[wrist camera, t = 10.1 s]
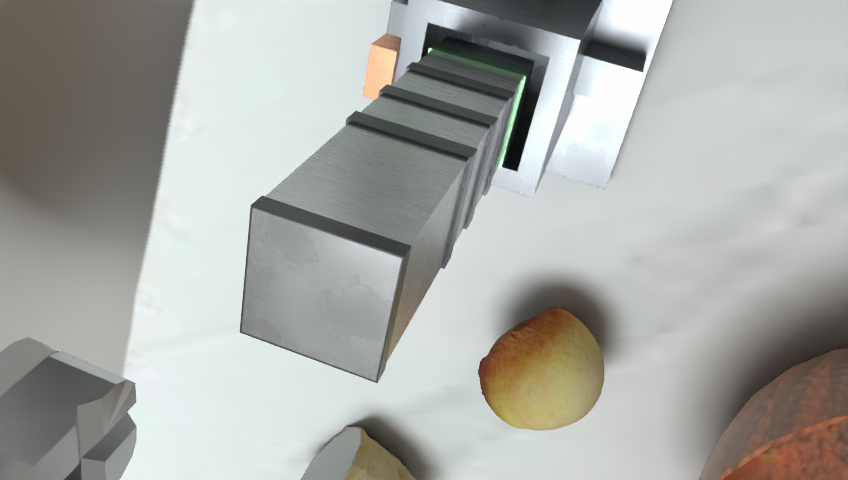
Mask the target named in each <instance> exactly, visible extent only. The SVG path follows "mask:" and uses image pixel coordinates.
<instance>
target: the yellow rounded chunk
mask: <svg viewBox="0 0 848 480" xmlns="http://www.w3.org/2000/svg"><path fill="white" fill-rule="evenodd" d="M301 480H416V479H415V478H414V477H413V476H412V475H411V474H410V472H409V471H408V470H407V468H406V467H405V466H404V465H402V464H401V462H400V460H399V459H397V458H396V457H395V456H394V455H392V454H391V453H390V452H389V451H387V450H386V449H385V448H383V447H382V446H381V445H380V444H379V443H378V442H377V441H375V440H373V439H371V438H369V437H368V435H367V434H366V432H365V431H364V430H363V428H360V427H345V428H344V429H343V430H342V432H341V433H340V434H338V435H337V436H336V437H335V438H334V439H333V440H332V441H331V442H330V443H329V444H327V445H326V446H325V447H324V448H323V449H322V450H321V452H320V453H319V454H318V455H317V456H316V457H315V458H314V459H313V460H312V462H311V463H310V465H309V467H308V468H307V470H306V472H305V473H304V475H303V477H302V478H301Z"/></svg>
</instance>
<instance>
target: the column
mask: <svg viewBox="0 0 848 480" xmlns="http://www.w3.org/2000/svg"><path fill="white" fill-rule="evenodd" d="M534 62H535V60H531V59H528V58H525V57H521V56H518V55H514V54H511V53H507V52H504V51H500V50H497V49H493V48H490V47H486V46H483V45H479V44H476V43H472V42H469V41H466V40H462V39H459V38H455V37H452V36H447V37H446V38H445V39H443V40H442V41H441V42H440V43H434V44H433V45H431V46H430V47H429V49H428V54H426V55H425V56H424V57H423V58H422V59H421V60H420V61H418V62H417V63H415V62H412V63H411V64H409V65H408V66H407V67H406V71H405V74H404V75H403V76H401V77H400V78H399V79H398V80H397V81H396V82H395V83H393V84H392V85H388V84H386V85H385V86H384V87H383V88H382V89H381V90H379V94H378V98H376V99H375V100H374V101H373V102H372V103H371V104H370V105H369V106H367V107H366V108H365V109H364V110H363V111H362V112H358V111H355V112H354V113H353V114H352V115H351V116H349V117H348V118H347V119H346V126H345V127H344V128H342V129H341V130H340V131H339V132H338V133H337V134H336V135H334V136H333V137H332V138H331V139H330V140H329V141H328V142H327V143H325V144H324V145H323V146H322V147H321V148H320V149H319V150H317V151H316V152H315V153H314V154H313V155H312V156H311V157H310V158H308V159H307V160H306V161H305V162H304V163H303V164H302V165H300V166H299V167H298V168H297V169H296V170H295V171H294V172H293V173H291V174H290V175H289V176H288V177H287V178H286V179H285V180H283V181H282V182H281V183H280V184H279V185H278V186H277V187H276V188H274V189H273V190H272V191H271V192H270V193H269V194H268V195H266V196H261V197H260V198H259V199H258V200H257V201H255V202H254V203H253V204H252V205H251V210H250V222H249V233H248V244H247V256H246V267H245V278H244V290H243V301H242V313H241V324H240V333H243V334H246V335H248V336H251V337H254V338H256V339H259V340H262V341H265V342H267V343H270V344H273V345H275V346H278V347H281V348H284V349H286V350H289V351H292V352H294V353H297V354H300V355H303V356H305V357H308V358H311V359H313V360H316V361H319V362H322V363H324V364H327V365H330V366H332V367H335V368H338V369H340V370H343V371H346V372H349V373H351V374H354V375H357V376H359V377H362V378H365V379H368V380H370V381H373V382H376V383H378V381H379V379H380V377H381V375H382V374H383V372H384V370H385V366H386V362H387V361H388V359H389V357H390V355H391V354H392V352H393V350H394V348H395V347H396V345H397V343H398V341H399V340H400V338H401V336H402V334H403V333H404V331H405V329H406V327H407V326H408V324H409V322H410V320H411V319H412V317H413V315H414V314H415V312H416V310H417V308H418V307H419V305H420V303H421V301H422V300H423V298H424V296H425V294H426V293H427V291H428V289H429V287H430V286H431V284H432V282H433V280H434V279H435V277H436V275H437V273H438V272H439V270H440V268H443V269H444V268H445V267H446V265H447V263H448V261H449V260H450V258H451V254H452V250H453V246H454V244H455V242H456V240H457V239H458V237H459V235H460V233H461V232H462V230H463V228H464V229H467V228H468V226H469V224H470V222H471V221H472V218H473V214H474V210H475V207H476V205H477V204H478V202H479V200H480V198H481V197H482V195H484V196H486V194H487V192H488V190H489V189H490V186H491V182H492V178H493V176H494V174H495V172H496V171H497V169H498V167H500V168H501V167H502V166H503V164H504V162H505V160H506V157H507V153H508V150H509V148H510V146H511V144H512V142H513V138H514V135H515V131H516V127H517V124H518V120H519V117H520V113H521V109H522V106H523V102H524V98H525V95H526V91H527V88H528V84H529V80H530V77H531V73H532V69H533V66H534Z"/></svg>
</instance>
